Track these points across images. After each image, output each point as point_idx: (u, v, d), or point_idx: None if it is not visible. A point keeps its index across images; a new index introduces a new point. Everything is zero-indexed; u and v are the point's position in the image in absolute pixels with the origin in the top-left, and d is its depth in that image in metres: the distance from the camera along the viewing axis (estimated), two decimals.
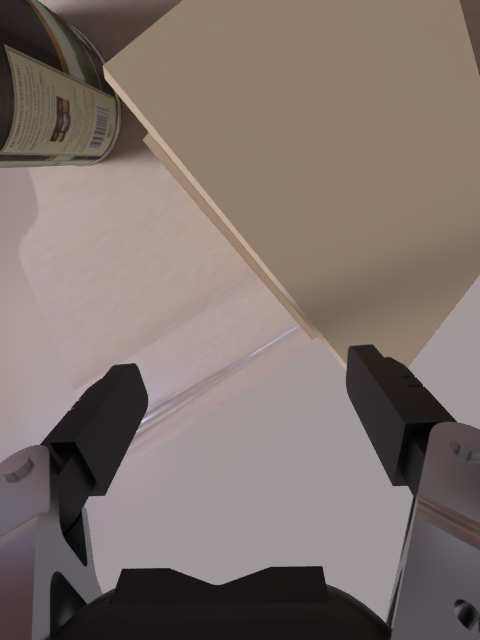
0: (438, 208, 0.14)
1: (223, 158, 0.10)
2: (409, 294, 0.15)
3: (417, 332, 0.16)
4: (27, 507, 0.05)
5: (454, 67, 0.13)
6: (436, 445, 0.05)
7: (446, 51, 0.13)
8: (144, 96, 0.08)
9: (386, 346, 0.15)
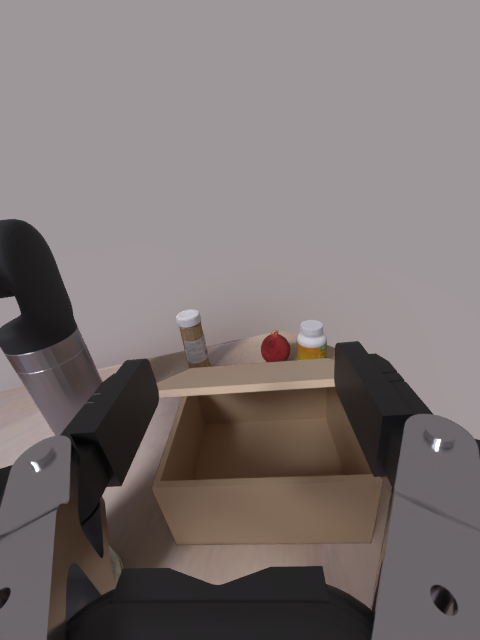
0: (287, 366, 0.30)
1: (188, 385, 0.22)
2: (314, 369, 0.26)
3: None
4: (48, 496, 0.05)
5: (247, 365, 0.35)
6: (409, 435, 0.05)
7: (240, 365, 0.35)
8: None
9: None
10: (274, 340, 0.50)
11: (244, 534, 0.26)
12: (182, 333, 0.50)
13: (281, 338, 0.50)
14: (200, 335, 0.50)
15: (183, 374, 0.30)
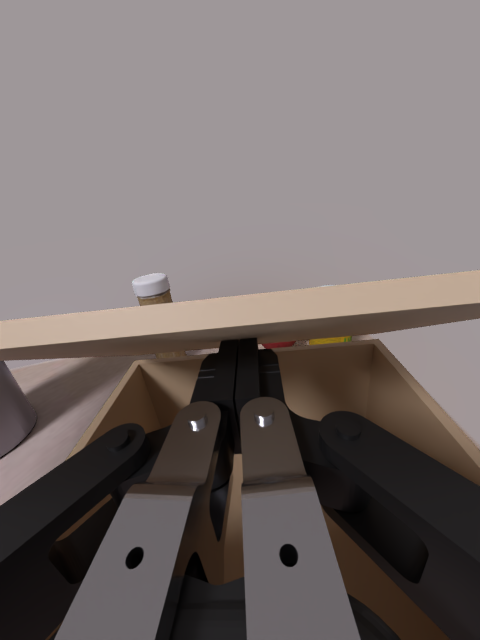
0: None
1: None
2: None
3: None
4: (192, 464, 0.05)
5: None
6: (242, 414, 0.06)
7: None
8: None
9: None
10: None
11: None
12: None
13: None
14: None
15: None
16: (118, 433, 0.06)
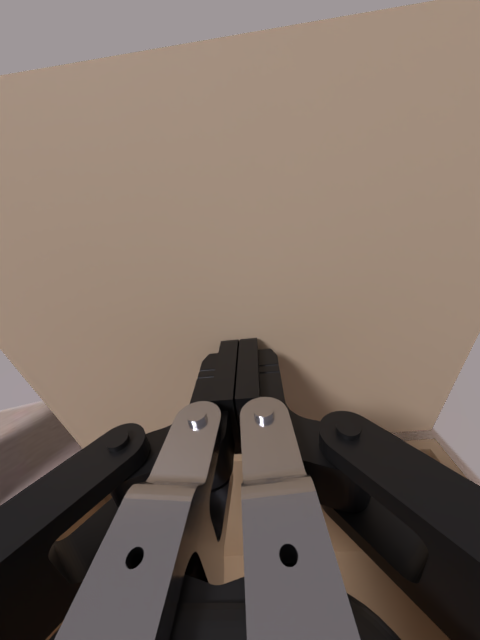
0: None
1: None
2: None
3: None
4: (192, 464, 0.05)
5: None
6: (242, 414, 0.06)
7: None
8: None
9: None
10: None
11: None
12: None
13: None
14: None
15: None
16: (118, 432, 0.06)
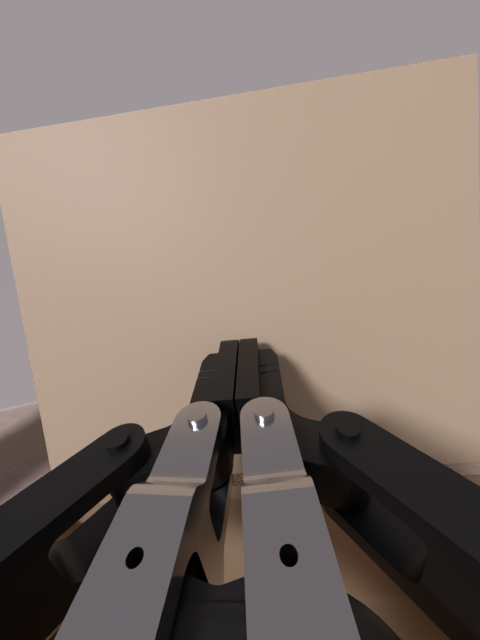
0: None
1: None
2: None
3: None
4: (192, 464, 0.05)
5: None
6: (242, 414, 0.06)
7: None
8: None
9: None
10: None
11: None
12: None
13: None
14: None
15: None
16: (117, 432, 0.06)
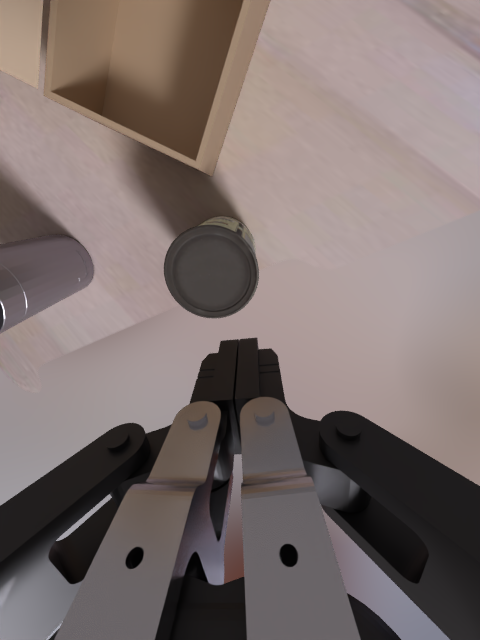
0: None
1: None
2: None
3: None
4: (192, 464, 0.05)
5: None
6: (242, 413, 0.06)
7: None
8: None
9: None
10: None
11: (231, 110, 0.32)
12: None
13: None
14: None
15: None
16: (117, 433, 0.06)
